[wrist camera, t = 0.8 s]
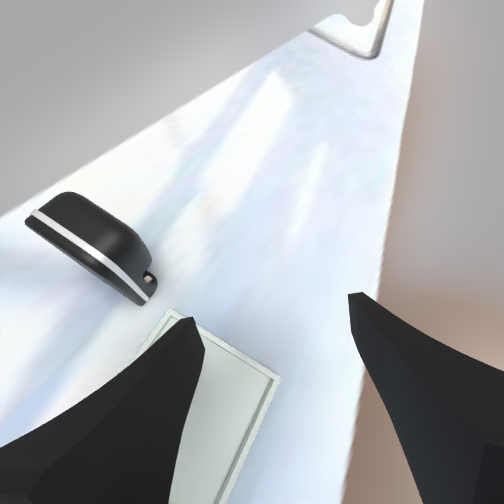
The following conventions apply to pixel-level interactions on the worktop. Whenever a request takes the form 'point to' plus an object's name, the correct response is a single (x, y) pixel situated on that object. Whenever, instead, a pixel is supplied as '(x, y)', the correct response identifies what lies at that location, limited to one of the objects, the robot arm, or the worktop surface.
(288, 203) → the worktop surface
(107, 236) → the battery charger
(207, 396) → the tray
